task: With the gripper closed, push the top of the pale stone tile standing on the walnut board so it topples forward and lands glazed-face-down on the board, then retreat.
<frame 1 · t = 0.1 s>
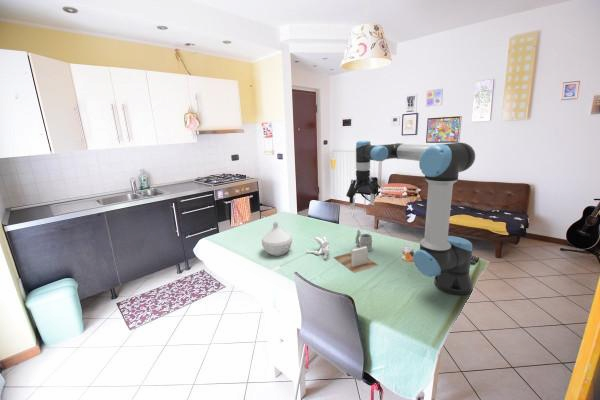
hand: (362, 206, 158), 28 cm above the table, fingers open, 13 cm apart
board: (355, 263, 152), on the table
person figurine: (322, 255, 164), on the table
mug: (363, 250, 168), on the table
vase: (277, 252, 170), on the table
tile: (359, 264, 149), point 1 cm above the table, touching board
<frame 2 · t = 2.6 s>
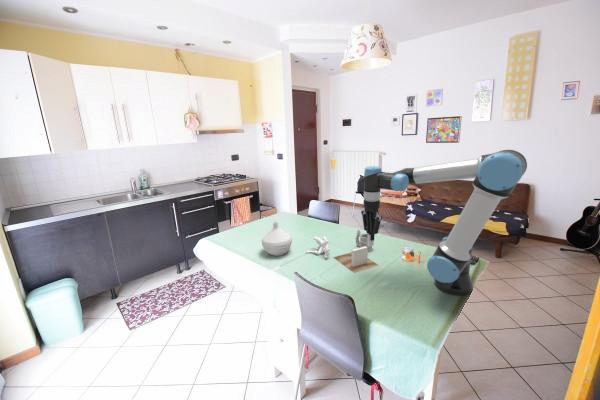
hand: (370, 245, 137), 15 cm above the table, fingers closed
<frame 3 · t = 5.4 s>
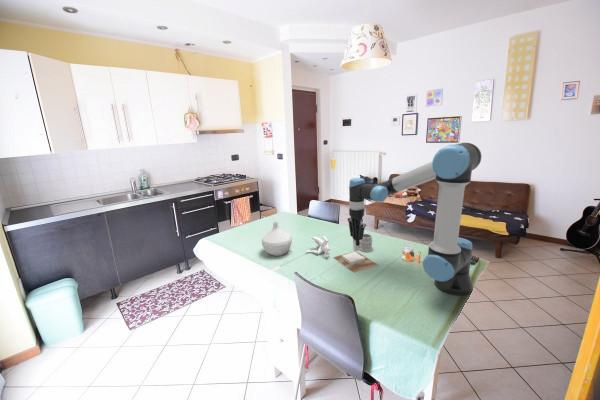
hand: (356, 250, 149), 8 cm above the table, fingers closed
tile: (358, 261, 149), point 2 cm above the table, tilted 90°, touching board
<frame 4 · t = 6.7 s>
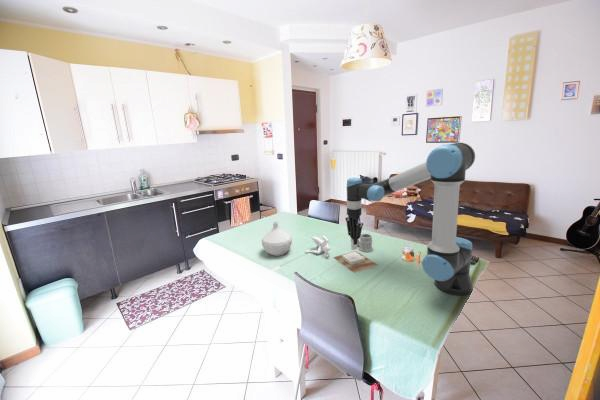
hand: (354, 249, 151), 8 cm above the table, fingers closed
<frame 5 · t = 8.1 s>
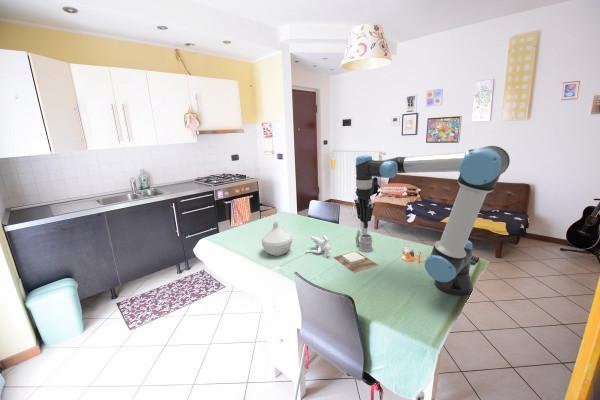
hand: (364, 233, 141), 20 cm above the table, fingers closed
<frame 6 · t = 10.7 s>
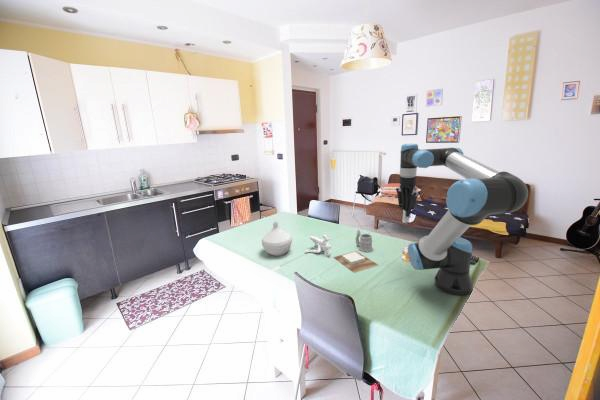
hand: (405, 222, 141), 24 cm above the table, fingers closed
at the end: tile tilted 90°; tile inside the target area (3.4 cm from its centre), point 2.2 cm above the table; the gripper is holding nothing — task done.
